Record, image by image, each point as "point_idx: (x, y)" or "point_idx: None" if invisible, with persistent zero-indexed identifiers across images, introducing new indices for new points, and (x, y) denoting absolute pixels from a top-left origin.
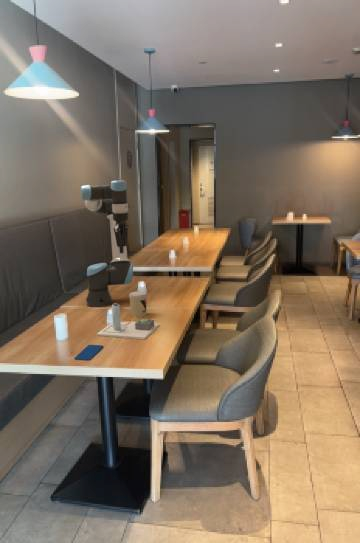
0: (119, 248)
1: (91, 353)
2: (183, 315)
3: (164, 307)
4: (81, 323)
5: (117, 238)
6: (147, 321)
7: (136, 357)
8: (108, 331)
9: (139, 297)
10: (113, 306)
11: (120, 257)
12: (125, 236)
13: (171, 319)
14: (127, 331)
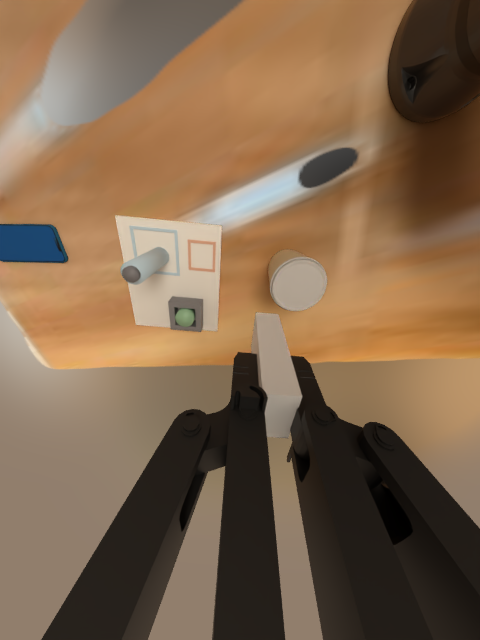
0: (259, 377)
1: (21, 252)
2: None
3: (344, 310)
4: (190, 104)
5: (74, 620)
6: (181, 325)
7: (63, 331)
8: (139, 240)
9: (272, 297)
10: (121, 270)
11: (255, 324)
12: (442, 630)
13: None
14: (154, 284)
